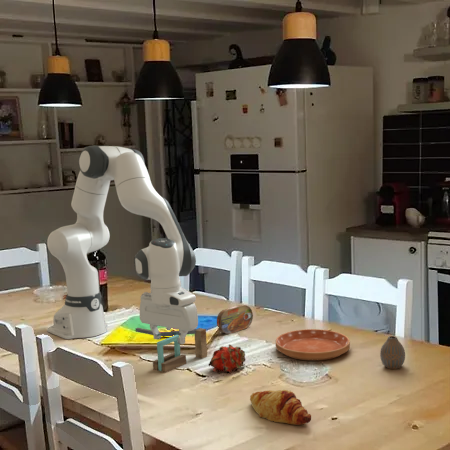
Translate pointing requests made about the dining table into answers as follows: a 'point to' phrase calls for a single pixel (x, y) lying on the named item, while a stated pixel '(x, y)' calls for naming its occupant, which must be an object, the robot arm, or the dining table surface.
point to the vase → (392, 353)
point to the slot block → (170, 362)
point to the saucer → (313, 344)
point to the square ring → (165, 342)
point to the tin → (234, 319)
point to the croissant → (280, 407)
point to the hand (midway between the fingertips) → (169, 341)
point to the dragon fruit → (227, 359)
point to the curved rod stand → (199, 333)
